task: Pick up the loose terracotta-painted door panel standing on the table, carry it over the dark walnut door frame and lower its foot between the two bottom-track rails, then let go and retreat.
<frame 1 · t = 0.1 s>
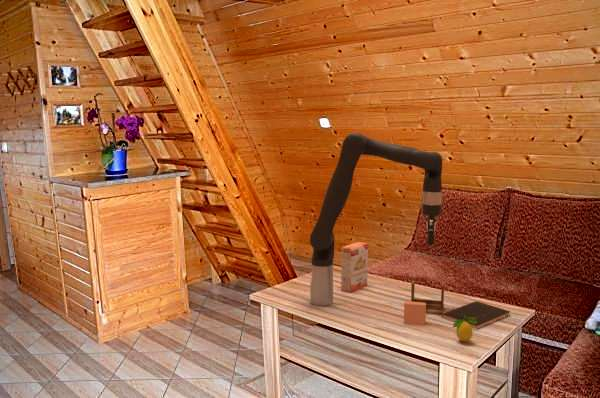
hand: (430, 242, 204), 29 cm above the table, tool pointing down, fingers open, 8 cm apart
cracker box: (354, 288, 240), on the table
hardcover book: (475, 318, 203), on the table
track frame: (427, 308, 212), on the table
lemon: (464, 342, 180), on the table
door panel: (414, 322, 197), on the table
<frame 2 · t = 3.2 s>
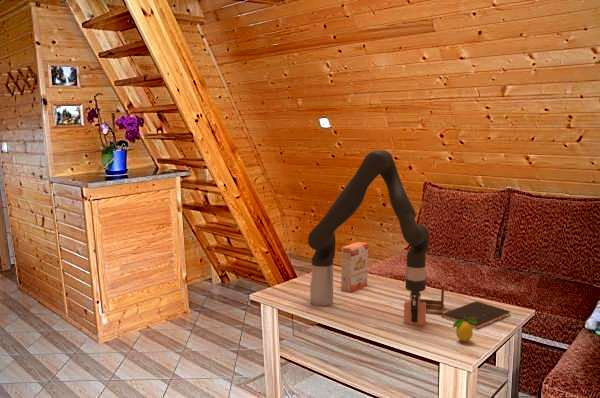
hand: (414, 319, 197), 1 cm above the table, tool pointing down, fingers closed on door panel, 3 cm apart
door panel: (414, 322, 197), on the table, touching gripper
everything else where it was.
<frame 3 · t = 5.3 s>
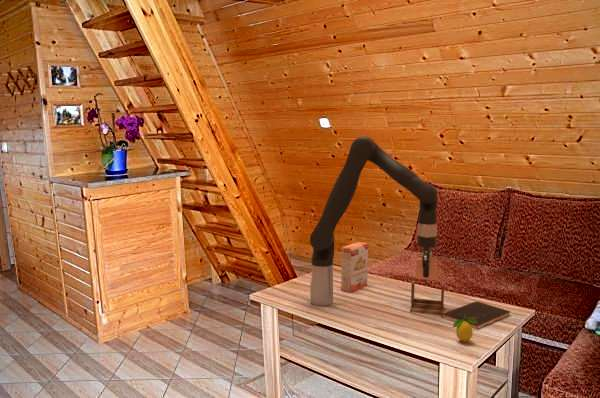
hand: (426, 275, 206), 15 cm above the table, tool pointing down, fingers closed on door panel, 3 cm apart
door panel: (426, 278, 206), point 14 cm above the table, touching gripper
everything else where it was.
when the fingers open (3 cm above the table, at t = 7.6 s): door panel drops 1 cm, resting on track frame.
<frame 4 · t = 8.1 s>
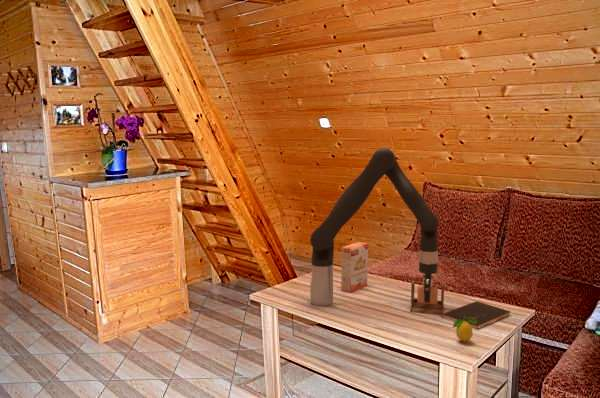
hand: (427, 298, 211), 4 cm above the table, tool pointing down, fingers open, 7 cm apart
door panel: (427, 306, 212), point 1 cm above the table, touching track frame
everything else where it was.
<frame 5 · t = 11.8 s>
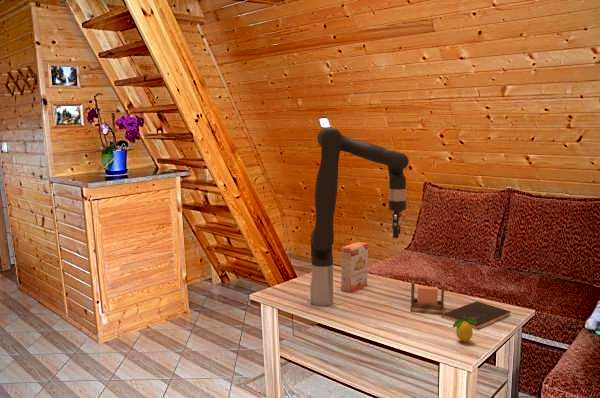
hand: (396, 235, 221), 28 cm above the table, tool pointing down, fingers open, 8 cm apart
nothing on the table moved.
at the end: door panel 0.0 cm off-centre on the track frame, point 1.0 cm above the track frame's base; door panel tilted 0°; the gripper is holding nothing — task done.
